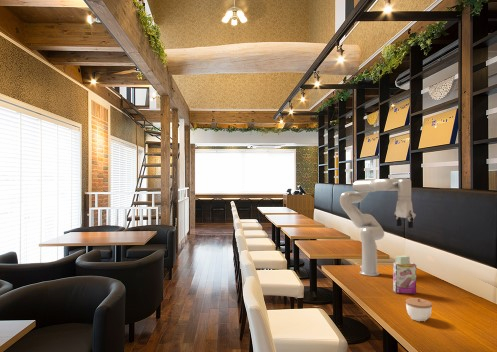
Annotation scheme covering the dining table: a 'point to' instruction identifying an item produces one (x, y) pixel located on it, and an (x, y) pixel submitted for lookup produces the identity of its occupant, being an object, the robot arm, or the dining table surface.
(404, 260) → the sage block
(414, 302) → the lidded jar
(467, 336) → the dining table surface
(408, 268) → the candy bar box
